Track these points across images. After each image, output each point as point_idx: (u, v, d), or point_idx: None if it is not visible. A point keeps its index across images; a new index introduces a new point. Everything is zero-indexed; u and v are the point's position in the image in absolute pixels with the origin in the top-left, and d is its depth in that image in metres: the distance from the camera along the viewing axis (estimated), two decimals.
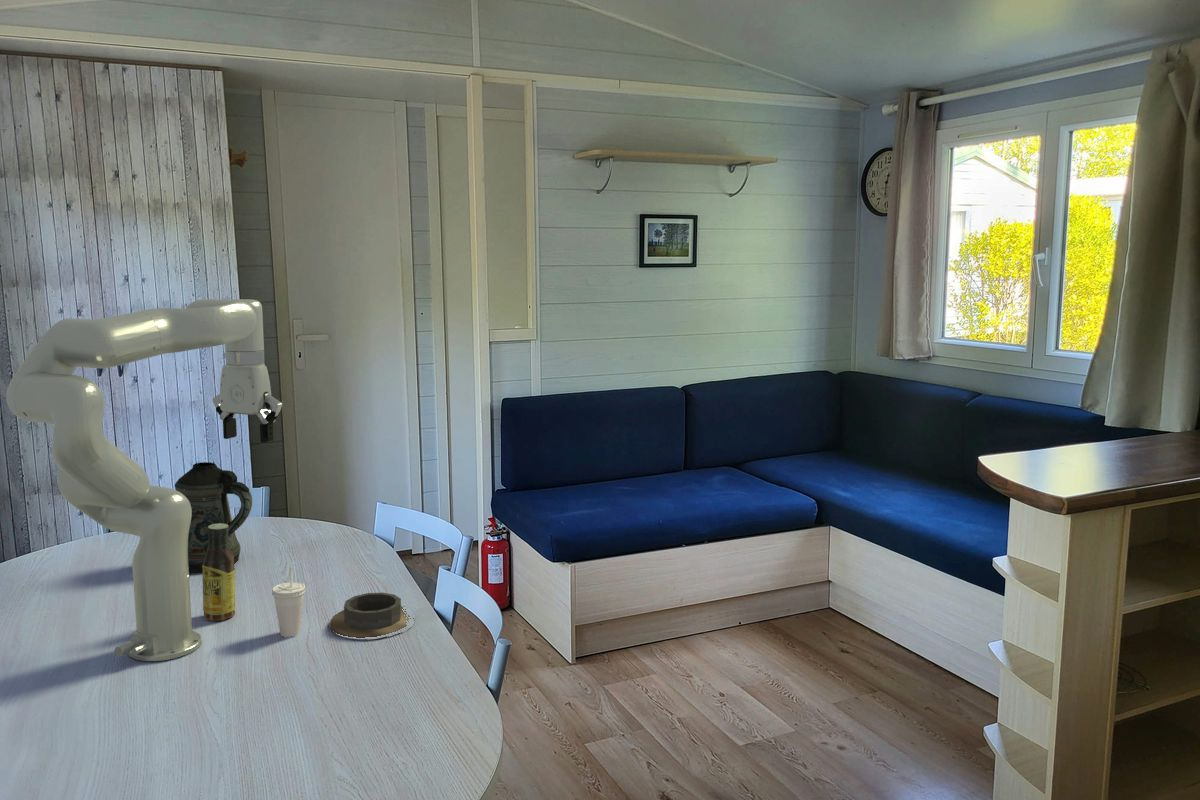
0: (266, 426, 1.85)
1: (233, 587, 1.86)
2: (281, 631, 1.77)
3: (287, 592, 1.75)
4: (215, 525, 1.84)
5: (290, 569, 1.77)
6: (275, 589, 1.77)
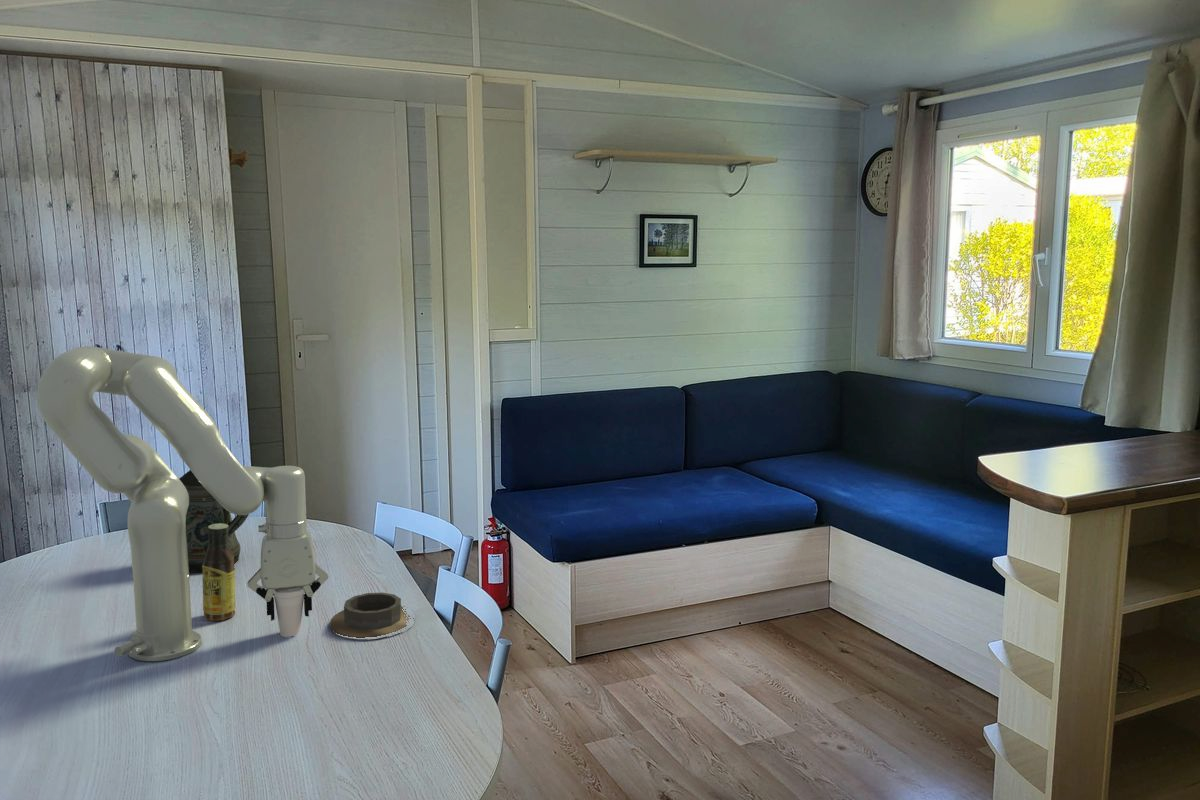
0: (310, 598, 1.79)
1: (233, 587, 1.86)
2: (281, 631, 1.77)
3: (287, 592, 1.75)
4: (215, 525, 1.84)
5: None
6: (275, 589, 1.77)
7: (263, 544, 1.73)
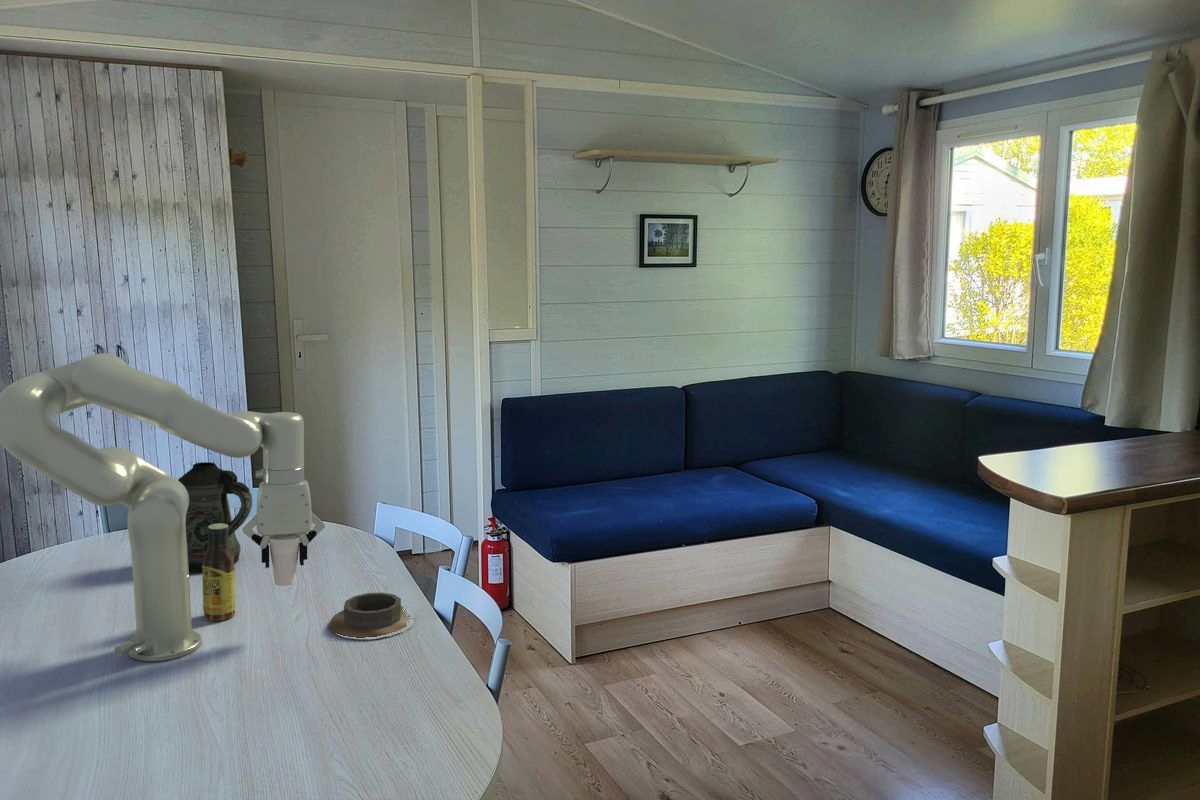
0: (305, 547, 1.77)
1: (233, 587, 1.86)
2: (276, 579, 1.75)
3: (283, 539, 1.73)
4: (215, 525, 1.84)
5: None
6: (271, 536, 1.75)
7: (260, 490, 1.71)
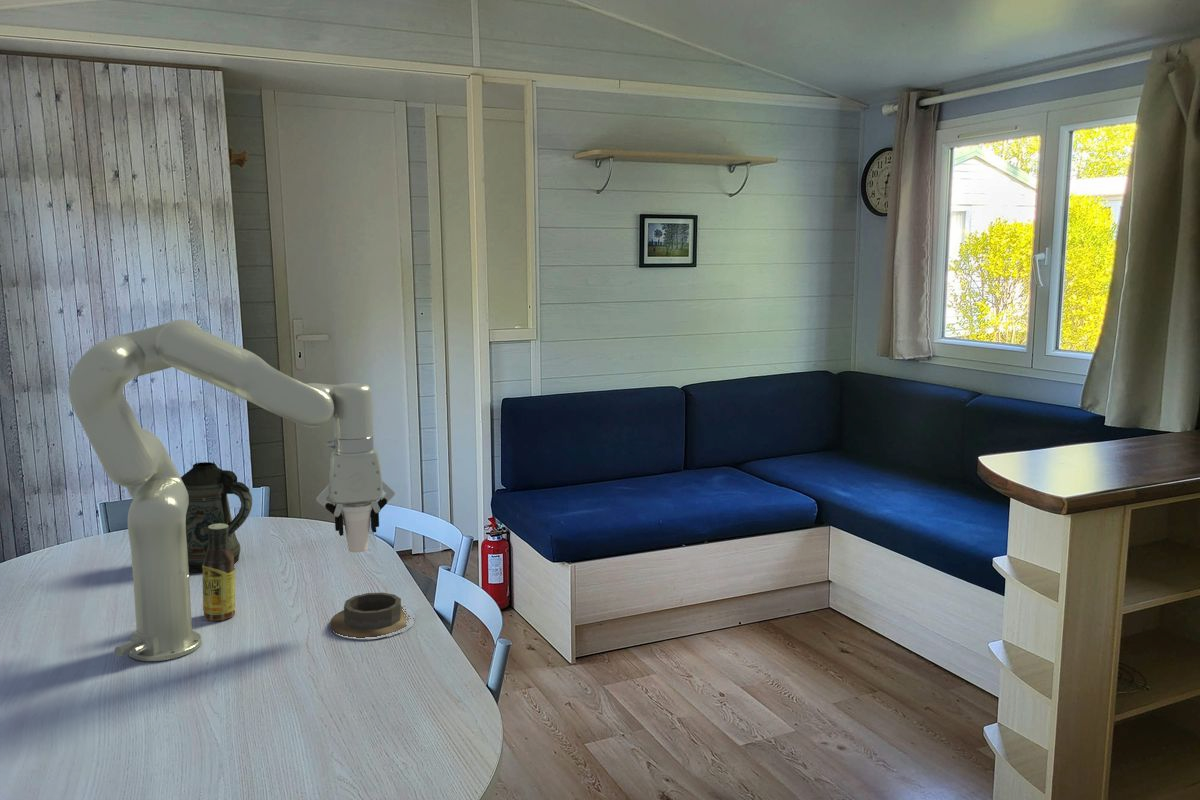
0: (377, 515, 1.81)
1: (233, 587, 1.86)
2: (350, 546, 1.80)
3: (356, 507, 1.78)
4: (215, 525, 1.84)
5: None
6: (343, 505, 1.79)
7: (332, 459, 1.75)
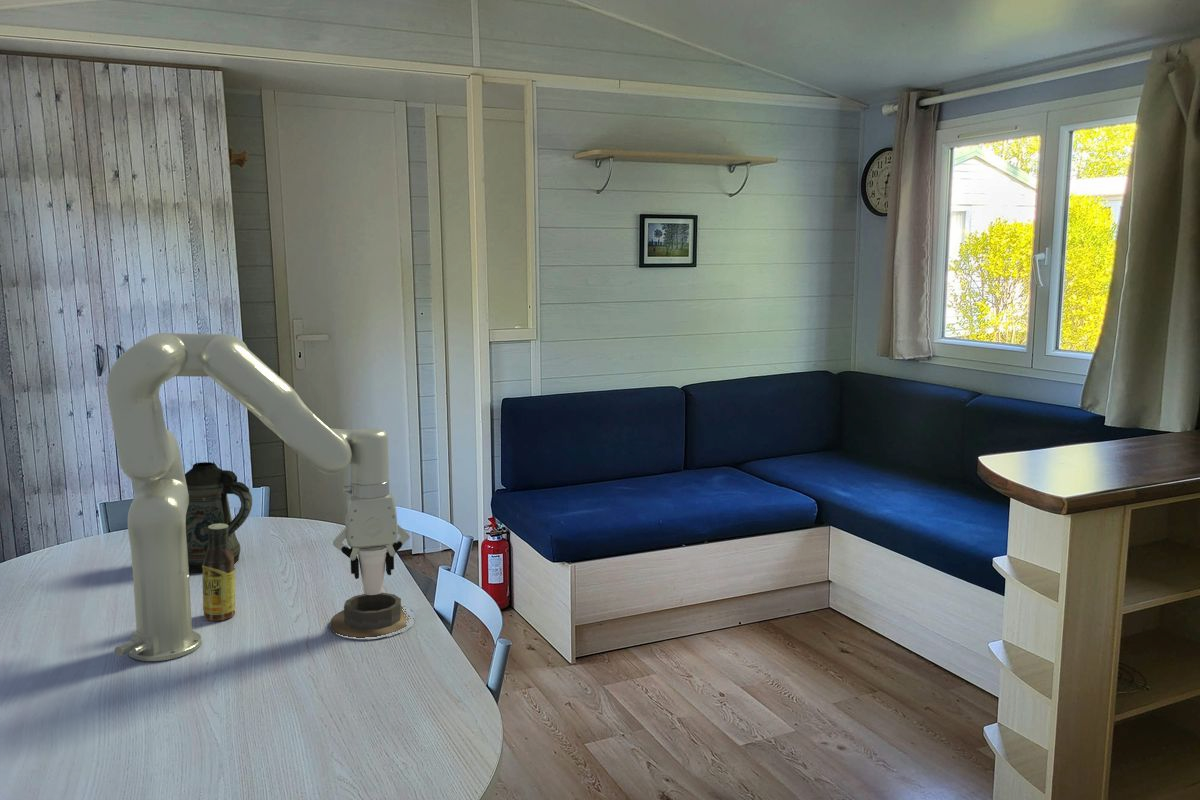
0: (392, 558, 1.83)
1: (233, 587, 1.86)
2: (365, 589, 1.82)
3: (372, 550, 1.80)
4: (215, 525, 1.84)
5: None
6: (359, 548, 1.81)
7: (349, 504, 1.78)
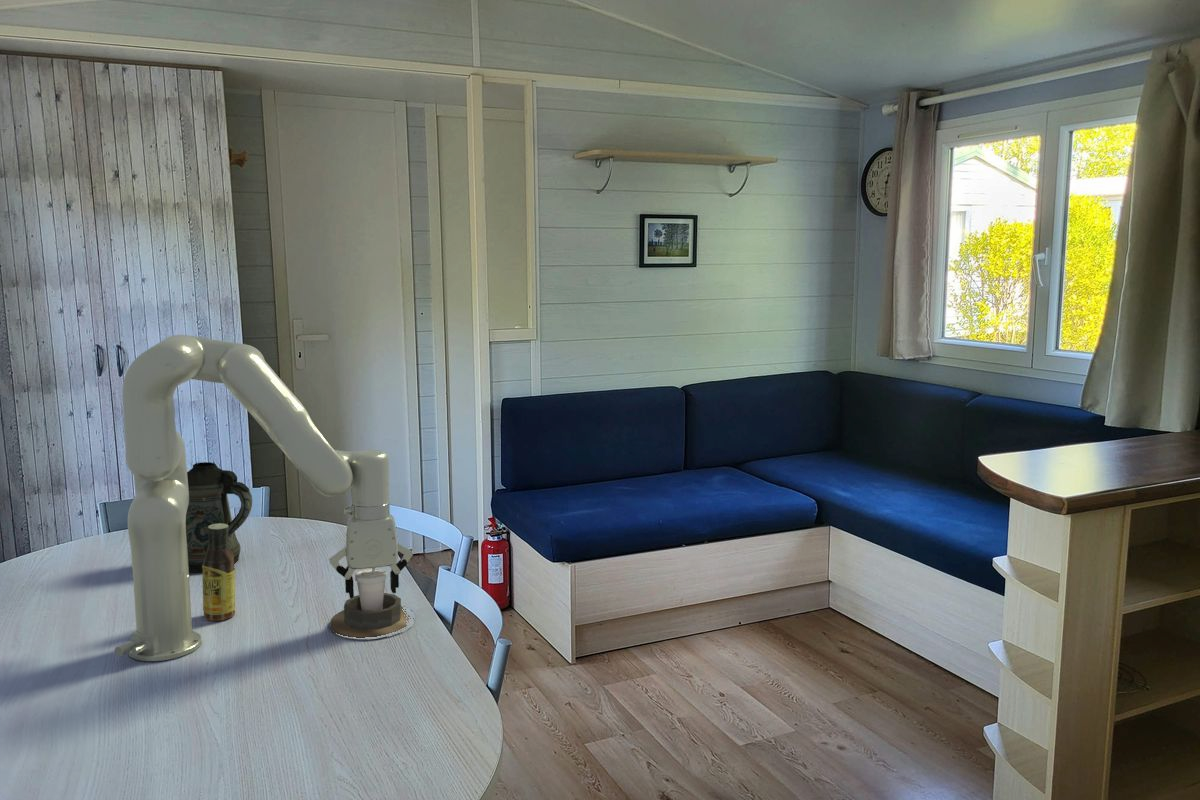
0: (397, 576, 1.84)
1: (233, 587, 1.86)
2: None
3: (370, 578, 1.81)
4: (215, 525, 1.84)
5: None
6: (358, 575, 1.82)
7: (349, 525, 1.78)
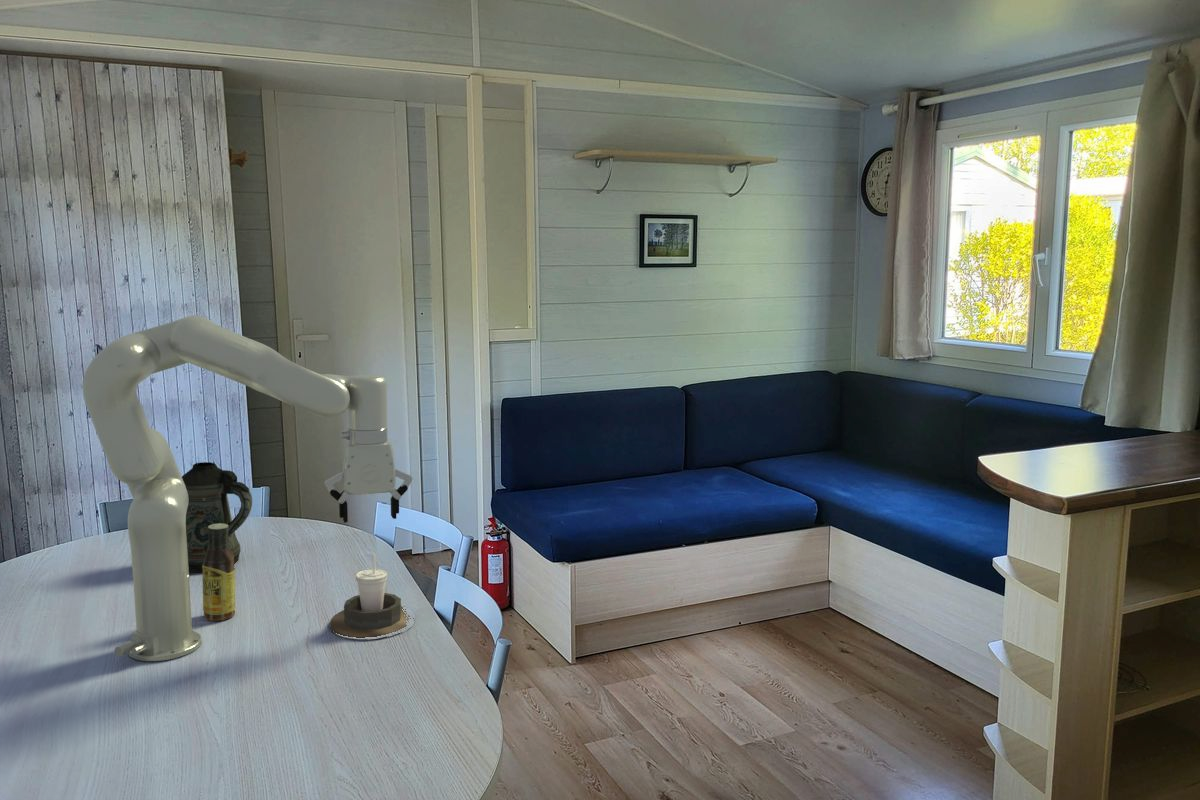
0: (397, 501, 1.82)
1: (233, 587, 1.86)
2: None
3: (371, 578, 1.81)
4: (215, 525, 1.84)
5: (373, 556, 1.82)
6: (359, 575, 1.82)
7: (346, 450, 1.76)
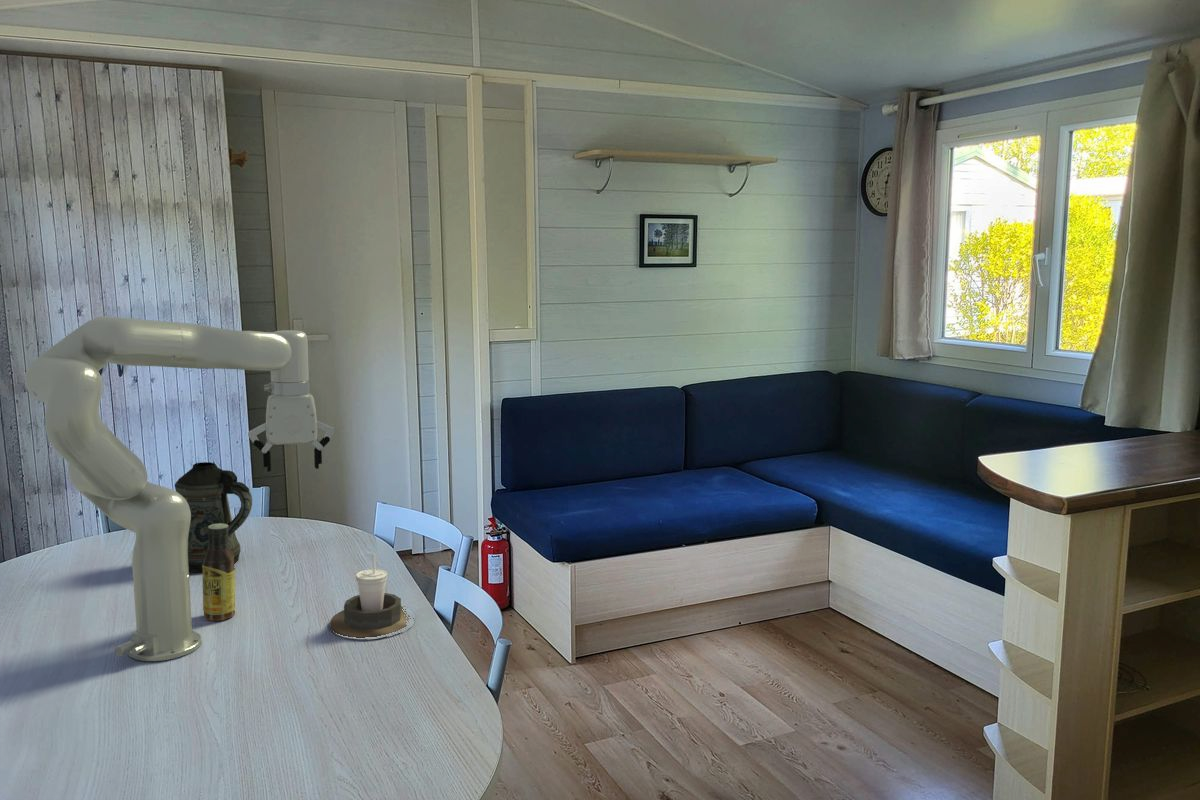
0: (320, 452, 1.90)
1: (233, 587, 1.86)
2: None
3: (371, 578, 1.81)
4: (215, 525, 1.84)
5: (373, 556, 1.82)
6: (359, 575, 1.82)
7: (268, 401, 1.84)
